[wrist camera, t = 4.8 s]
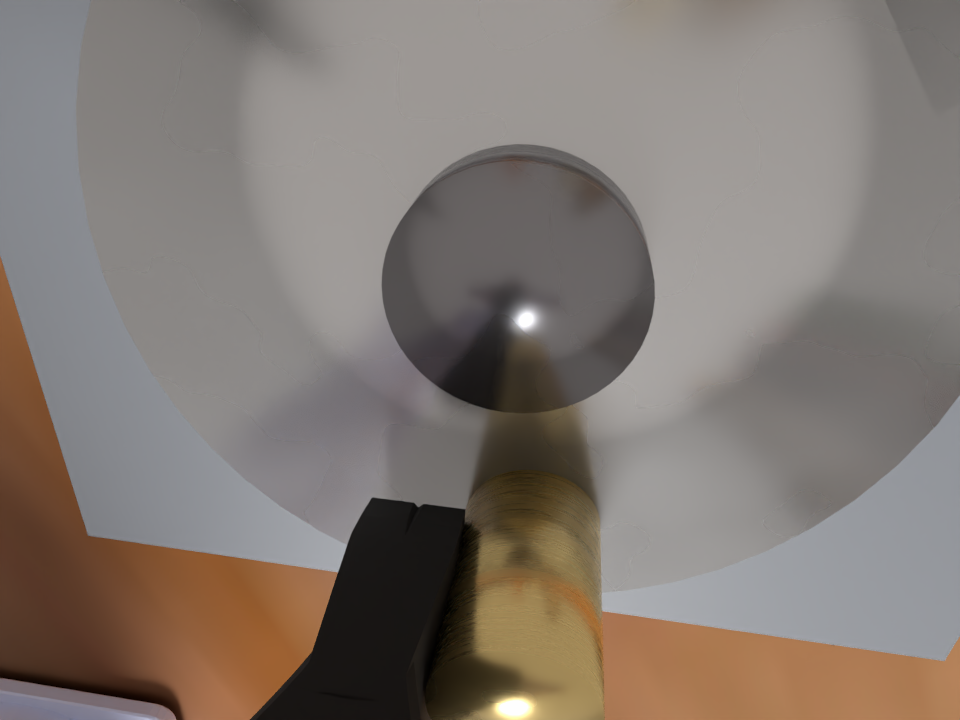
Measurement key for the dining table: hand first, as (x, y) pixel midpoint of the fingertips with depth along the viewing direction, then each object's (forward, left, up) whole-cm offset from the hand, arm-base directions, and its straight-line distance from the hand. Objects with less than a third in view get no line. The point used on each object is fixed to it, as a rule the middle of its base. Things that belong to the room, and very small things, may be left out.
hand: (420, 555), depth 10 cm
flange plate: (+5, -2, -2) cm, 5 cm away
